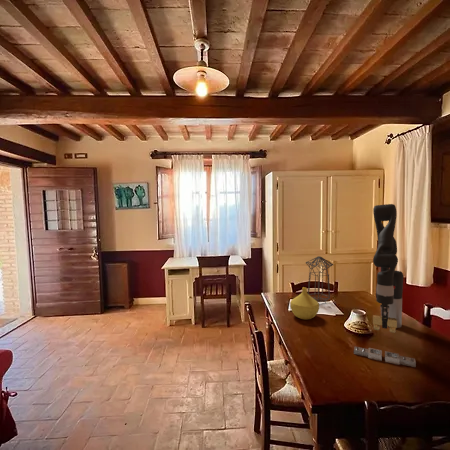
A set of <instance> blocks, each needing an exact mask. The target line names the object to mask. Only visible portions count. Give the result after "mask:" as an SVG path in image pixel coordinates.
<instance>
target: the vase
mask: <svg viewBox="0 0 450 450" xmlns="http://www.w3.org/2000/svg"><path fill="white" fill-rule="evenodd" d="M312 297H313V296H312V295H308V288H307V287H304V286H303V287H302V290H301V293H299V295H297V296H296V297H294V298H292V299H291V300H290V302H289V305H290V306H289V307H290V310H291V312H292V313H293V315H294V316H295V317H296V318H298V319H300V320H312V319H314V317H317V314H318V313H319V310H320V305H319V304H320V302H317V301H318V300H317V301H316V300H315V299H316V298H315V299H313V298H314V297H313V298H312Z"/></svg>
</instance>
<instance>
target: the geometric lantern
mask: <svg viewBox="0 0 450 450" xmlns="http://www.w3.org/2000/svg"><path fill="white" fill-rule="evenodd" d="M305 264H306V266H308V268H309V270H308V271H309V272H308V284H307V286H308V288H307V293H308V295H310V296H311V297H312V298H313V299H315V300H316V301H317V302H318V303H319V306H320V305H321V303H322V302H323V303H322V305H325V304H327V301H328V300H330V298H331V292H330V290H331V289H330V274H329V273H328V272H329V271H328V269H330V268H331V267H332V266H334V264H333V263H331V262H330V261H328V260H327V259H326V258H324V257H323V256H320V255H318V256H316V257H314V258H312V259H310V260H308V261H306V262H305ZM314 268H316V269H317V271H314ZM319 269H320V270H319ZM324 271H326V272H324ZM313 273H314V274H313ZM316 273H318V274H316ZM324 274H325V275H324ZM311 275H312V276H315V277H314V293H310V289H311V288H310V285H311V277H312V276H311ZM326 276H327V287H328V288H327V290H328V293H327V294H328V295H327V294H325V293H323V291H324V290H323V288H324V287H323V286H324V285H323V281H324V280H321V277H326ZM317 277H318V278H317ZM320 281H321V283H320ZM320 284H321V292H320ZM316 285H317V290H316ZM316 291H317V293H316ZM312 295H317V297H316V296H314V297H313V296H312ZM322 296H325V298H323V297H322Z"/></svg>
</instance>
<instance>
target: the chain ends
mask: <svg viewBox="0 0 450 450" xmlns="http://www.w3.org/2000/svg"><path fill="white" fill-rule="evenodd" d="M353 354H354V355H357V356H362V357H365V358H368V359H370V360H376V361H380V362H382V357H383V355H382V354H383V351H382V349H377V348H373V347H372V348H371V347H368V348H365V347H360V346H354V349H353ZM384 363H390V364H394V365H397V366H398V365H403V366H406V367H407V366H408V367H412V368H416V366H417V365H416V364H417V362H416V358H413V357H409V356H404V355H400V354H399V353H396V352H392V351H386V350H385V351H384Z"/></svg>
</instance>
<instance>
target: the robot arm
mask: <svg viewBox="0 0 450 450" xmlns="http://www.w3.org/2000/svg"><path fill="white" fill-rule="evenodd" d="M372 209H373V210H372V213H373V219H374V223H375V229H376V236H377V246H376V247H377V248H376V251H375V253H374V255H373V257H372V258H373V259H372V262H373V265H374V266H375V267H377V268H380V270H381V271H379V272H377V275H376V293H375V296H376V299H375V300H376V303H378V304H380V305H379V306H380V307H379V308H380V316H382V325H381V328H382V329H388V326H387V322H388V317H390V318H397V328H396V329H398V328H399V329H400V328H402V322H403V321H402V320H403V317H402V315H403V292H404V277H405V276H404V273H403V271H401V270H396V268H397V266H398V262H399V259H398V258H399V257H398V256H397V254H398V247H397V240H396V238H395V237H394V235H395V234H394V233H395V229H396V222H397V217H398V216H397V214H398V213H397V207H396V205H395V204H393V203H388V204H375V205H374V206H373V208H372ZM383 222H388V223H387V224H386V225H385V226H384V224H383ZM384 318H386V319H384Z"/></svg>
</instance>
